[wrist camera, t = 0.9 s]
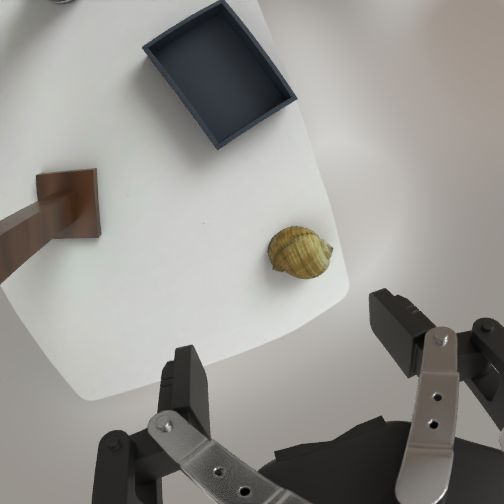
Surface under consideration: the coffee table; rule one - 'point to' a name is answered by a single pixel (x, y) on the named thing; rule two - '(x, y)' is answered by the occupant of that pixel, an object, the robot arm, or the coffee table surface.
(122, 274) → the coffee table surface
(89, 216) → the stand
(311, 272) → the seashell
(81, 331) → the coffee table surface
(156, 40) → the tray
